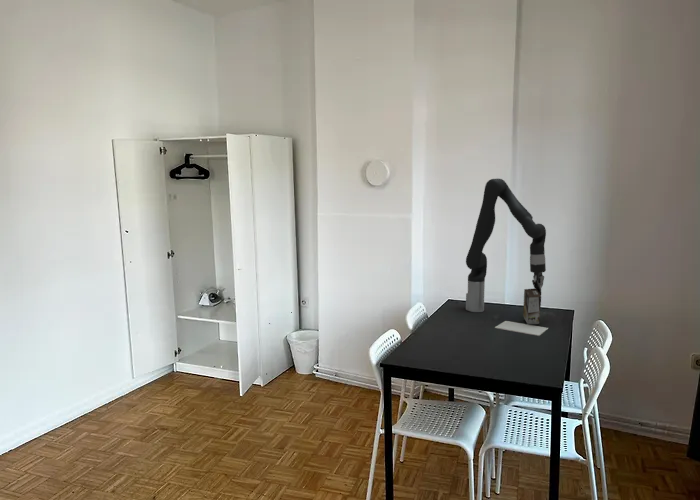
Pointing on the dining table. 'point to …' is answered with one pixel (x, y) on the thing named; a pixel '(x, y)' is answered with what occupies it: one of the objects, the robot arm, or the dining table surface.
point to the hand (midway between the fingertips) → (538, 295)
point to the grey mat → (522, 328)
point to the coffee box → (532, 306)
